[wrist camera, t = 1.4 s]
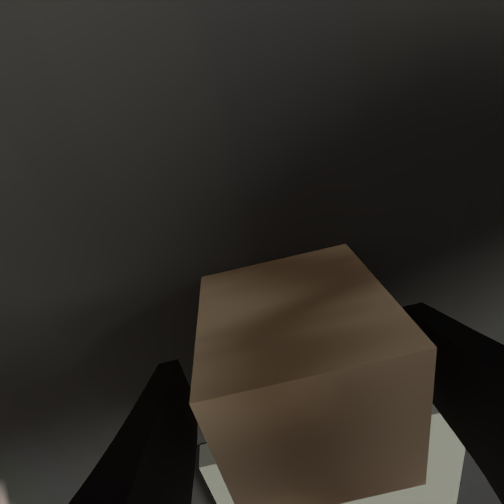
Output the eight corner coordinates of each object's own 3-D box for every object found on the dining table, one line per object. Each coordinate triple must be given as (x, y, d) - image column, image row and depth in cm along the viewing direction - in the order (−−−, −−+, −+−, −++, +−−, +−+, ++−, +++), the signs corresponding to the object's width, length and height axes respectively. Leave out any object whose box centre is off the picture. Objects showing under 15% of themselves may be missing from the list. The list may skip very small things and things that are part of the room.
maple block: (344, 242, 11) (436, 347, 6) (353, 350, 13) (426, 484, 8) (201, 276, 11) (189, 404, 6) (235, 377, 13) (243, 525, 8)
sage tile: (456, 386, 14) (472, 405, 13) (441, 508, 19) (452, 528, 18) (200, 444, 14) (198, 467, 13) (250, 551, 19) (252, 573, 18)
